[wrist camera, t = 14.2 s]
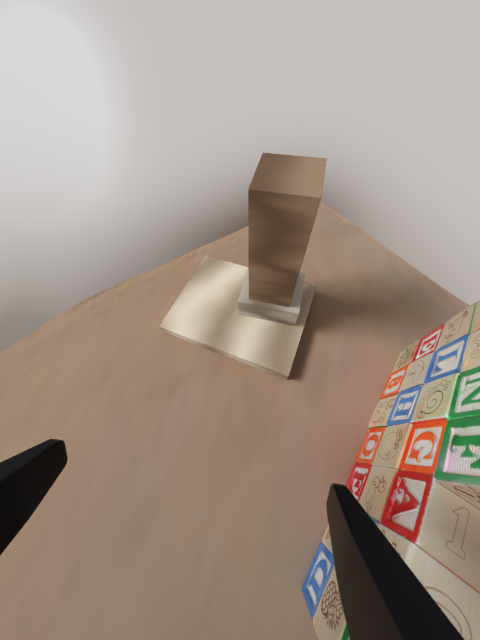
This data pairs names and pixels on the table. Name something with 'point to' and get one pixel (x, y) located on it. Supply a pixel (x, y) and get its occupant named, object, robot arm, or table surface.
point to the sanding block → (280, 234)
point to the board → (233, 319)
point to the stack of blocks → (421, 478)
